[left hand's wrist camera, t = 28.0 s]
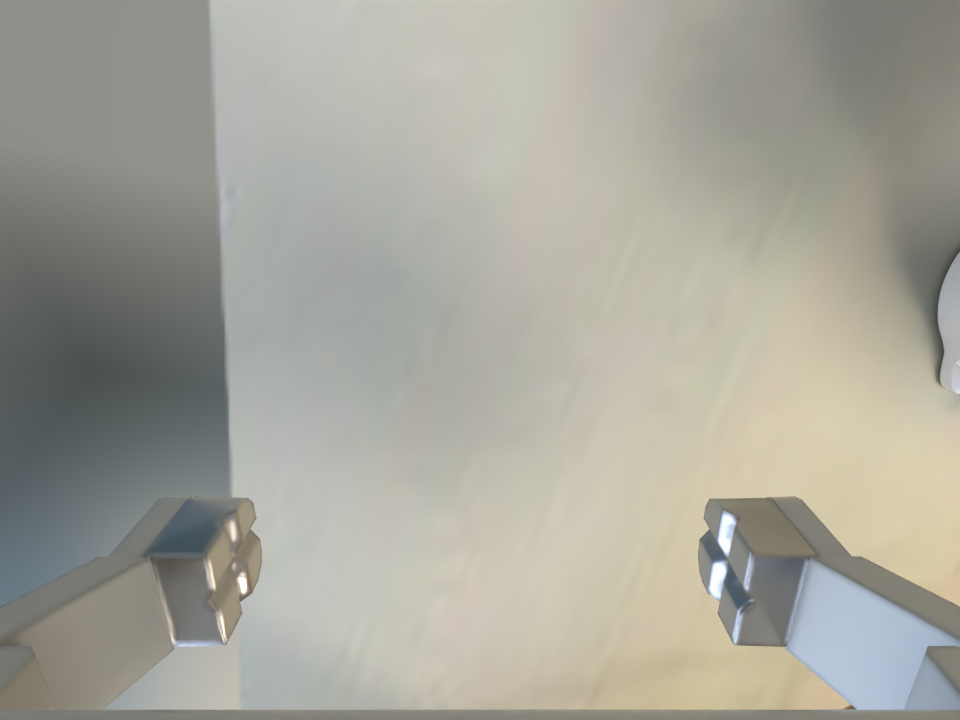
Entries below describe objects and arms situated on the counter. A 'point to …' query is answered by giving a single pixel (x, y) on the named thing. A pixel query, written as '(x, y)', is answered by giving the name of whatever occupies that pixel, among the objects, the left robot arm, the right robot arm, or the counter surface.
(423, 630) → the counter surface
